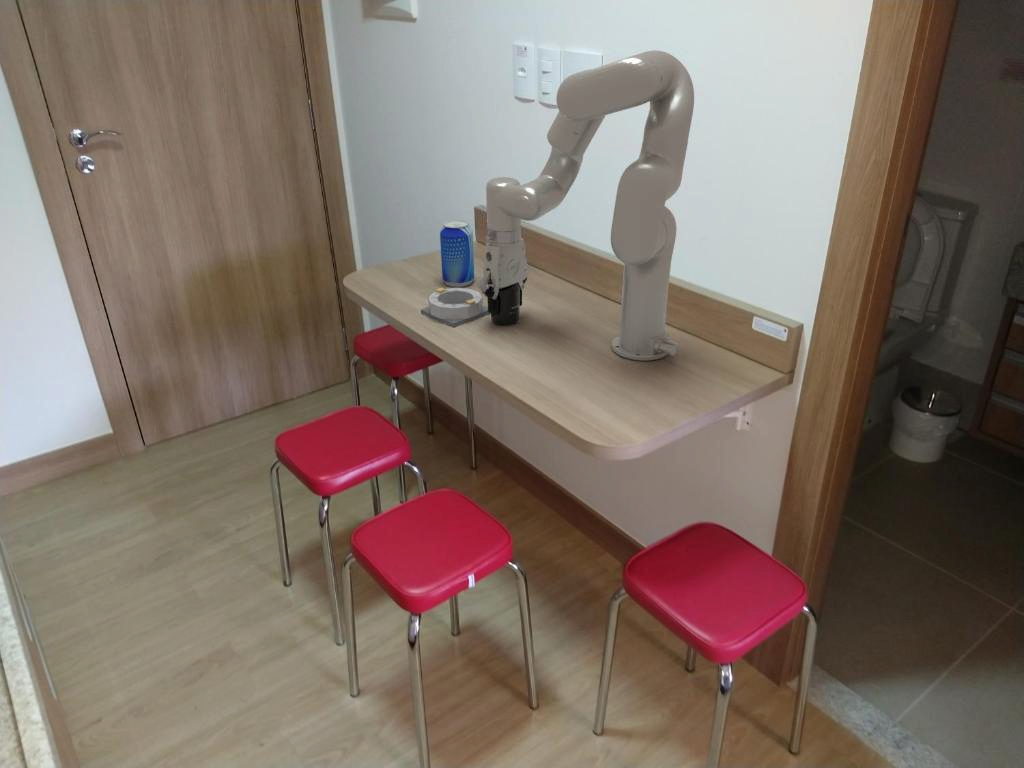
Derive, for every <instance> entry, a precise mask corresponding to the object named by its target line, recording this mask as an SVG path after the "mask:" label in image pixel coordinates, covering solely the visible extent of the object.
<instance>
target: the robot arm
mask: <svg viewBox="0 0 1024 768" xmlns="http://www.w3.org/2000/svg"><path fill="white" fill-rule="evenodd" d="M647 103H649V111H648V115H647V118H646V120H645V124H644V129H643V137H642V138H643V139H642V143H641V147H640V148H641V149H640V153H639V156H638V158H637V159H636V160H635V161H633V162H632V163H631V164H629V165H628V166H627V167H626V168H625V169H624V171H623V172H622V174H621V177H620V179H619V181H618V185H617V189H616V194H615V195H616V196H615V201H614V208H613V209H614V210H613V216H612V221H611V222H612V223H611V227H610V228H611V229H610V245H611V246H610V247H611V249H612V252H613V254H614V256H615V257H616V258H617V259H618V260H619V261H620V262H622V263H623V264H624V265H623V275H622V276H623V278H622V289H621V290H622V291H621V305H620V306H621V307H620V324H619V325H620V326H619V335H617V336H616V337H614V338H613V339H612V341H611V349H612V351H613V352H615V354H617V355H618V356H620V357H623V358H626V359H627V360H628V359H629V360H633V361H644V362H645V361H646V362H647V361H654V360H659V359H662V358H665V357H666V356H667V355H669V356H672V357H673V356H675V355H676V353H677V348H678V346H679V343H678V342H676V341H673V340H672V341H671V340H670V339H669V335H670V333H669V331H667V330H665V329H666V318H667V306H668V295H669V284H670V275H671V267H672V259H673V253H674V249H675V243H676V239H677V222H676V218H675V215H674V214H673V212H672V211H671V210H670V209H669V208H668V207H667V206H665V205H666V201H668V200H669V199H671V198H672V197H673V195H675V194H676V193H677V191H678V190H679V188H680V186H681V184H682V179H683V173H684V172H683V171H684V165H685V161H686V155H687V150H688V144H689V136H690V130H691V126H692V119H693V115H694V107H695V90H694V84H693V80H692V78H691V75H690V73H689V71H688V70H687V68H686V67H685V65H684V64H683V63H682V62H681V61H680V60H679V59H678V58H677V57H675V56H674V55H672V54H670V53H668V52H666V51H661V50H647V51H644V52H641V53H637V54H635V55H631V56H627V57H624V58H621V59H618V60H616V61H613V62H609V63H606V64H603V65H601V66H598V67H594V68H590V69H586V70H582V71H579V72H576V73H573V74H570V75H568V76H567V77H566V78H565V79H564V80H562V82H561V83H560V85H559V86H558V89H557V92H556V105H557V106H556V107H557V109H558V112H557V114H556V116H555V118H554V120H553V122H552V124H551V125H550V127H549V129H548V132H547V134H546V140H547V141H548V143H549V146H551V152H550V155H549V156H548V159H547V161H546V163H545V165H544V167H543V169H542V171H541V172H540V174H539V176H538V177H537V178H535V179H533V180H531V181H530V182H526V183H524V184H521V183H520V181H519V180H518V179H516V178H513V177H509V176H508V177H507V176H506V177H504V176H503V177H501V176H500V177H499V176H498V177H494V178H491V179H490V180H488V182H487V183H486V187H485V191H486V192H485V193H486V196H485V197H486V202H485V203H486V233H487V234H486V235H485V237H484V238H485V240H486V243H485V248H484V256H483V276H482V277H481V279H480V281H479V282H478V284H477V288H478V289H479V291H480V292H481V293H482V295H484V296H485V297H486V298H487V308H488V312H490V313H489V314H491V313H492V314H495V315H499V299H498V298H497V295H498V292H499V289H502V288H505V287H508V286H510V285H513V284H516V283H517V284H518V285H519V287H520V307H521V306H522V305H523V289H525V283H526V282H527V280H528V277H529V274H530V273H531V269H532V268H530V267H529V265H528V261H527V251H526V245H525V240H524V238H523V237H522V220H523V221H528V222H531V221H535V220H538V219H540V218H541V217H544V216H545V215H547V213H550V212H551V211H553V210H555V209H557V208H558V207H559V206H560V205H561V204H562V202H563V201H564V199H565V198H566V196H567V194H568V193H569V191H570V190H571V188H572V186H573V184H575V183H574V182H575V180H576V178H577V177H578V175H579V172H580V170H581V166H582V163H583V159H584V155H585V153H586V150H587V149H588V148H589V145H590V143H591V142H592V140H593V138H594V136H595V135H596V133H597V132H598V130H599V128H600V126H601V125H602V123H603V121H604V120H605V117H606V116H608V115H611V114H614V113H618V112H621V111H626V110H630V109H634V108H636V107H639V106H642V105H644V104H647ZM493 287H494V291H493V292H492V288H493Z"/></svg>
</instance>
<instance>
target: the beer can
mask: <svg viewBox="0 0 1024 768" xmlns="http://www.w3.org/2000/svg"><path fill="white" fill-rule="evenodd" d="M469 224H470V222H469V221H467V220H463V219H451V220H446V221H444V222H443V223H442V228H441V230H440V232H439V240H440V243H439V244H440V256H441V257H440V259H441V260H440V261H441V274H442V275H441V277H442V281H444V283H445V284H446V285H447V286H448V287H450V288H451V287H452V288H465V287H468V286H470V285H471V284H472V283H473V281H474V280H475V263H474V260H475V258H474V256H475V255H474V231H473V230H472V228H471V226H470V225H469ZM469 284H470V285H469ZM467 285H468V286H467Z"/></svg>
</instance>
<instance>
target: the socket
mask: <svg viewBox="0 0 1024 768" xmlns="http://www.w3.org/2000/svg"><path fill="white" fill-rule="evenodd" d="M427 299H428V306H427V307H424V308H423V307H422V308H421V309H420V314H422V315H424V316H426V317H429V318H430V319H433V320H435V321H438V322H440V323H442V324H445V325H447V326H449V327H452V328H456V327H458V326H461V325H464V324H466V323H469V322H471V321H474V320H476V319H477V320H478V318H481V317H484V316H486V315H489V314H491V313H490V312H488V306H485V305H483V296H482V294H481V293H480V292H479V291H477V290H474V289H471V288H465V287H452V288H451V287H449V288H443V287H439V288H437V289H435V292H432V293H431V295H429V297H428V298H427Z"/></svg>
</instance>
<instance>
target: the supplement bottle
mask: <svg viewBox="0 0 1024 768" xmlns="http://www.w3.org/2000/svg"><path fill="white" fill-rule="evenodd" d="M493 291H494V287H493V288H492V292H493ZM497 298H498V299H499V315H495V314H492V313H490V321H491V322H492V323H493V324H494V325H496V326H500V327H509V326H514V325H516V324H518V323H519V321H520V319H521V318H520V316H521V315H520V312H521V311H520V310H521V309H520V308H521V306H520V287H519V285H518V284H517V283H516V284H513V285H510V286H508V287H505V288H502V289H499V292H498V295H497Z"/></svg>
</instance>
